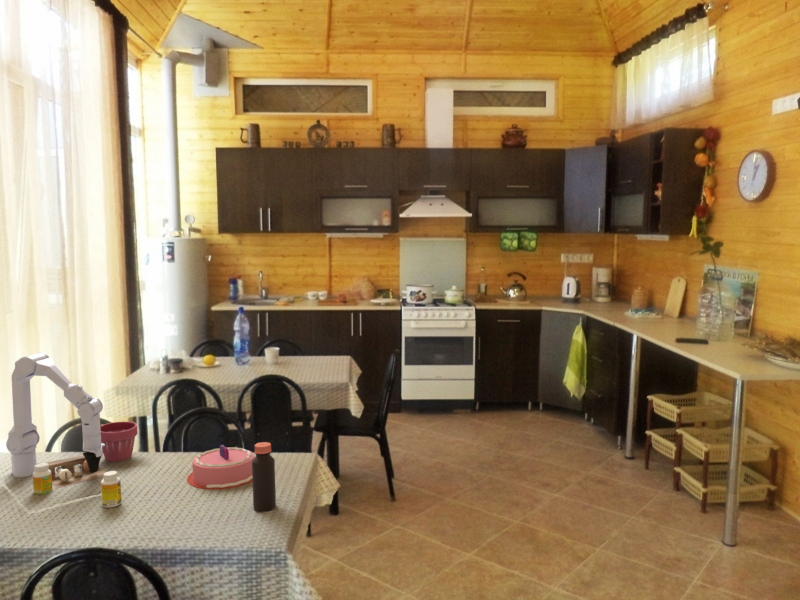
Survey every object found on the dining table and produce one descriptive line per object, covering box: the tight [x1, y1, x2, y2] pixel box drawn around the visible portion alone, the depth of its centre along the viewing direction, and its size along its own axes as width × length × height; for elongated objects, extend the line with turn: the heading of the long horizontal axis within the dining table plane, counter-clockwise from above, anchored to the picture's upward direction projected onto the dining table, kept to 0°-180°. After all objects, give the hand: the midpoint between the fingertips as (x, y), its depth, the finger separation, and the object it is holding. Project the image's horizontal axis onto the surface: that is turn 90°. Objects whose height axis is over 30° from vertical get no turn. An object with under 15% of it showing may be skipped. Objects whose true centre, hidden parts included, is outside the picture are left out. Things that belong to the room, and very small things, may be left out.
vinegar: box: [252, 441, 277, 513], centre depth 194 cm, size 7×7×20 cm
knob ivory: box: [55, 466, 72, 481], centre depth 218 cm, size 9×4×4 cm, turn 43°
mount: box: [46, 454, 107, 489], centre depth 222 cm, size 16×17×6 cm
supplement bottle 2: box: [100, 470, 122, 509], centre depth 198 cm, size 6×6×10 cm
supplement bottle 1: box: [32, 462, 53, 495], centre depth 207 cm, size 5×5×10 cm
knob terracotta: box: [82, 460, 89, 471], centre depth 228 cm, size 9×4×4 cm, turn 43°
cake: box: [186, 444, 255, 490], centre depth 222 cm, size 25×25×11 cm
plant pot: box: [100, 421, 138, 462], centre depth 240 cm, size 14×14×13 cm
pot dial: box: [74, 464, 83, 478], centre depth 220 cm, size 3×3×4 cm
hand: (93, 471), depth 222 cm, fingers closed
